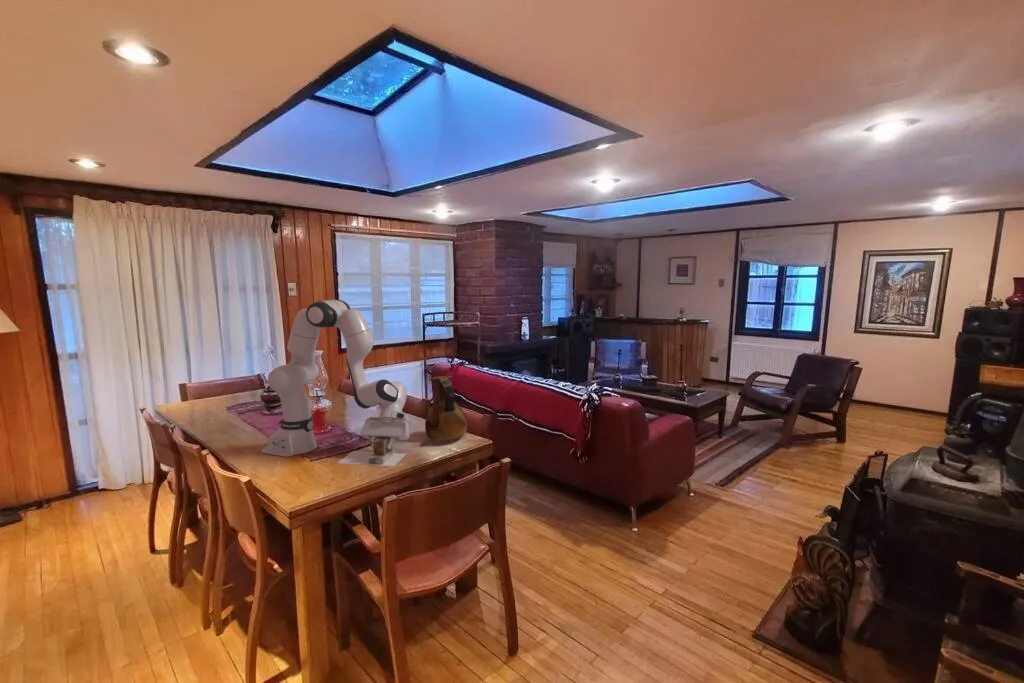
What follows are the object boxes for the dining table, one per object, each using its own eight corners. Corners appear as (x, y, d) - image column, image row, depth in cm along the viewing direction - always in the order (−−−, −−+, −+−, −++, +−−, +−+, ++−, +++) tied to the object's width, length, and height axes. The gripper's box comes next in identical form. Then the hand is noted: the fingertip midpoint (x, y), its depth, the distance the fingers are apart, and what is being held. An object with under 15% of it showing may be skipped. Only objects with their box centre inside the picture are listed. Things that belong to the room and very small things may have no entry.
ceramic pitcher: (456, 428, 222) (454, 370, 219) (475, 440, 206) (473, 377, 202) (419, 436, 212) (416, 375, 208) (436, 449, 195) (434, 382, 191)
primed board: (337, 466, 177) (336, 462, 177) (353, 454, 190) (353, 450, 190) (393, 469, 174) (393, 466, 173) (406, 457, 186) (406, 453, 186)
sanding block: (368, 463, 176) (367, 444, 175) (381, 453, 187) (380, 434, 186) (383, 464, 175) (382, 444, 174) (394, 453, 186) (393, 435, 185)
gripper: (364, 413, 187) (353, 443, 179) (410, 415, 184) (401, 446, 176) (369, 420, 192) (359, 450, 184) (414, 422, 189) (406, 452, 181)
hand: (380, 448), depth 180 cm, fingers closed on sanding block, 4 cm apart
